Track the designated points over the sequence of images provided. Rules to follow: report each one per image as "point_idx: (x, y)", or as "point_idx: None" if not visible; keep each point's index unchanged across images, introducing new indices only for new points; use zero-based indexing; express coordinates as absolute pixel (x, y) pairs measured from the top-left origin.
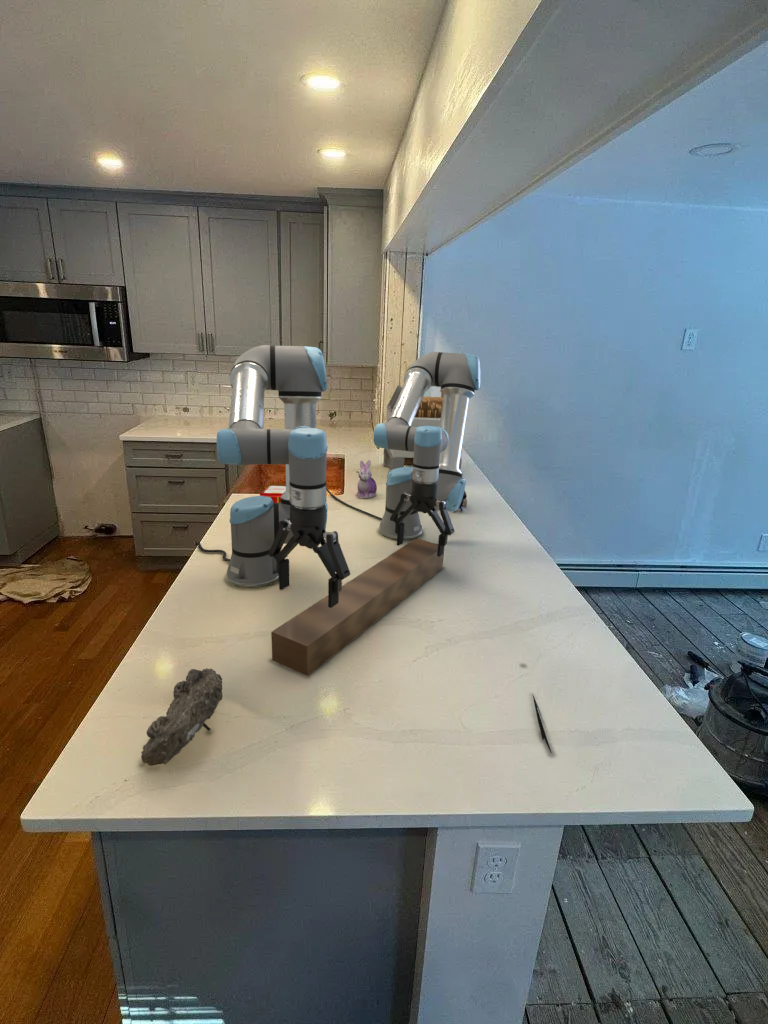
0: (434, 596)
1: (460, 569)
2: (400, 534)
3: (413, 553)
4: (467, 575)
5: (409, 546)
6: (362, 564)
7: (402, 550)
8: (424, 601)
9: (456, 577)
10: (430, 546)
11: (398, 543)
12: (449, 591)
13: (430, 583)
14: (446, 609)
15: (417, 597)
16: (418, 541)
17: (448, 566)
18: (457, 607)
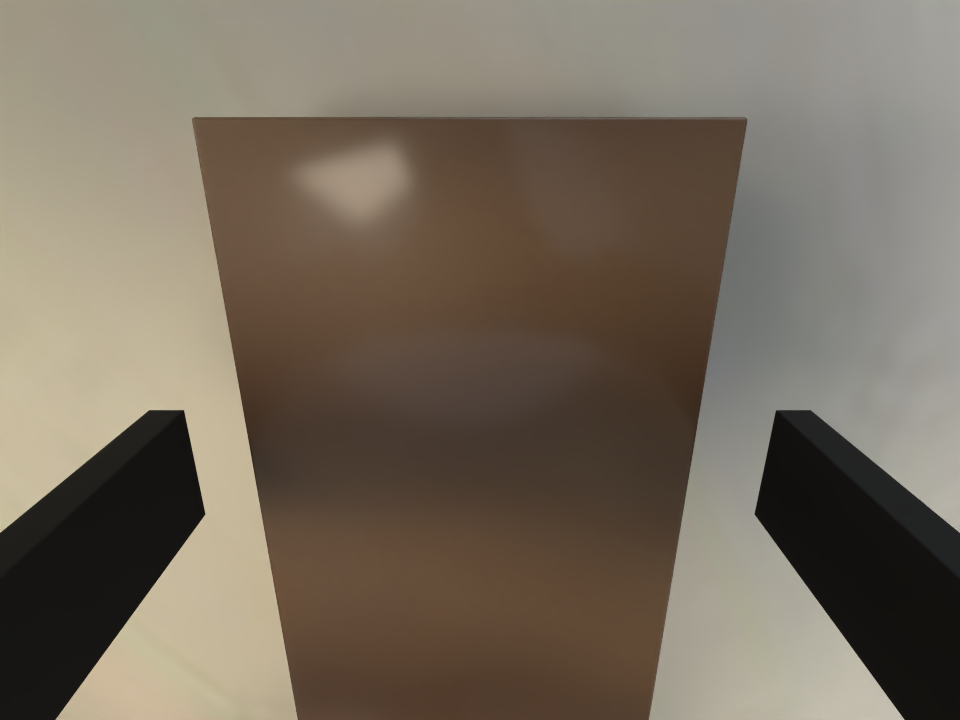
0: (740, 586)
1: (821, 28)
2: (110, 607)
3: (474, 586)
4: (916, 127)
5: (318, 452)
6: (43, 479)
7: (327, 588)
8: (703, 658)
9: (820, 236)
10: (557, 288)
11: (185, 535)
12: None
13: None
14: (853, 665)
15: None
16: (309, 224)
17: (680, 39)
18: None
